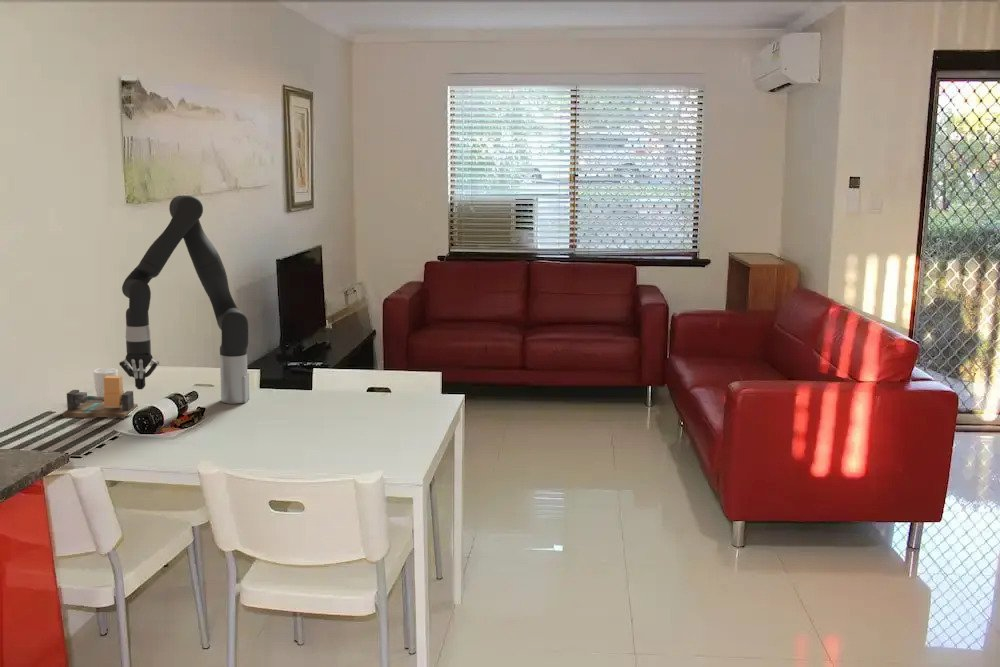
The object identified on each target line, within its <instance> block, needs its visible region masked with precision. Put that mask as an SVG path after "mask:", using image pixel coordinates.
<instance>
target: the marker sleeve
mask: <svg viewBox="0 0 1000 667" xmlns="http://www.w3.org/2000/svg"><path fill="white" fill-rule="evenodd" d="M123 382H124V381H123V375H118V376H106V377H104V400H103V403H104V406H107V407H120V406H121V405H122V400H121V398H120V397H122V394H124V393H125V391H124V386H123V385H124V383H123Z"/></svg>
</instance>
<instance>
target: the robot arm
mask: <svg viewBox="0 0 1000 667" xmlns="http://www.w3.org/2000/svg"><path fill="white" fill-rule="evenodd" d="M168 206H169V209H168V210H169V213H170V216H171V220H170V221H169V223H168V225H166V228H165V229H164V230H163V231H162V233H161V234H160V235H159V236H158V237H157V238H156V239H155V240H154V241H153V242H152V244H151V245H150V246H149V248H148V249H147V251H145V254H144V255H143V257H142V258H141V260H139V264H138V265H137V266H136V267H135V268H133V270H132V271H131V272H130V273H129V274H128V275H127V276H126V278H125V279H124V281H123V283H122V286H121V291H122V294H123V295H124V296H125V297H126V298H128V299H129V300H128V301H129V302H128V308H127V309H126V311H125V341H126V342H125V344H126V346H125V347H126V349H125V350H126V356H125V359H123V360H121V361H119V362H118V363H119V366H120V367H121V368H122V370H124V372H125V373H126V374H127V375H128V377H132V378H134V385H135V388H136V389H137V390H143V389H144V388H145V387H146V378H148V377H149V376H151V375H152V374H153V373H154V371H155V369H156V368H157V367H158V366H159V365H160V362H159V361H156V360H155V359H153V355H152V347H151V345H152V344H151V330H150V321H149V320H150V317H149V309H150V304H151V297H152V296H151V295H152V293H151V287H150V285H149V283H150V281H151V280H153V278H157V277H158V276H159V275H160V273H161V271H162V270H163V269H164V267H165V265H166V264H167V262H168V261H169V259H170V257H171V256H172V254H173V253H174V251H175V250H176V248H177V246H178V245H179V243H180V242H181V241H182V240H184V244H185V246H186V249H187V252H188V254H189V257H190V259H191V262H192V266H193V268H194V269H195V272H196V274H197V277H198V279H199V281H200V283H201V285H202V288H203V289H204V291H205V293H206V295H207V296H208V298H209V301H210V303H211V306H212V308H213V309H212V310H213V312H214V316H215V321H216V322H217V326H218V328H219V329H220V330H221V344H220V346H219V366H220V367H219V368H220V370H219V371H220V374H219V376H220V399H221V400H220V401H221V402H222V403H224V404H230V405H231V404H232V405H233V404H234V405H235V404H242V403H243V404H245V403H247V402H248V401H249V400H250V373H249V372H248V346H249V320H248V318H247V316H246V314H244V313H243V312H242V311H241V310H239V307H238V306H237V304H236V303H235V301H234V299H233V297H232V295H231V294H232V293H231V292H230V286H229V281H228V276H227V271H226V269H225V266H224V263H223V261H222V259H221V256H220V254H219V252H218V250H217V249H216V247H215V246H214V244H213V243H212V242H211V240H210V239H209V238H208V236H207V234H206V233H205V231H204V229H203V226H202V224H201V221H200V218H201V217H202V216H203V213H204V212H203V211H204V206H203V203H202V202H201V200H200V199H198V198H197V197H195V196H193V195H184V194H183V195H177V196H175V197H173V198H172V199H171V201H170V203H169V205H168ZM149 365H150V368H149V369H148V370H147V367H148V366H149Z"/></svg>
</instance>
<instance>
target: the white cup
mask: <svg viewBox="0 0 1000 667" xmlns="http://www.w3.org/2000/svg"><path fill="white" fill-rule="evenodd" d="M118 373H119V370H118V368H114V367H102V368H97V369H95V370H93V378H94V379H93V380H94V388H95V392H96V396H104V377H106V376H119V374H118Z"/></svg>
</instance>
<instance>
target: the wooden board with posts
mask: <svg viewBox="0 0 1000 667" xmlns="http://www.w3.org/2000/svg"><path fill="white" fill-rule="evenodd" d="M120 398H121V400H122V405H121V406H120V407H107V406H104V402H88V401H104V396H97V395H88V392H87V391H86V392H85V391H83V392H81V391H80V389H72V390H70V391H69V392H67V393H66V405H67V409H66V410H65V411H63V412H62V416H63V418H87V417H125V416H127V415H128V414H129V413H130V412H131V411H133V410H134V409H135V408H136V407H139V406H138V403H134V400H135V398H134V390H127V391H124V394H122V397H120ZM128 416H129V415H128ZM128 416H127V417H128Z"/></svg>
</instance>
